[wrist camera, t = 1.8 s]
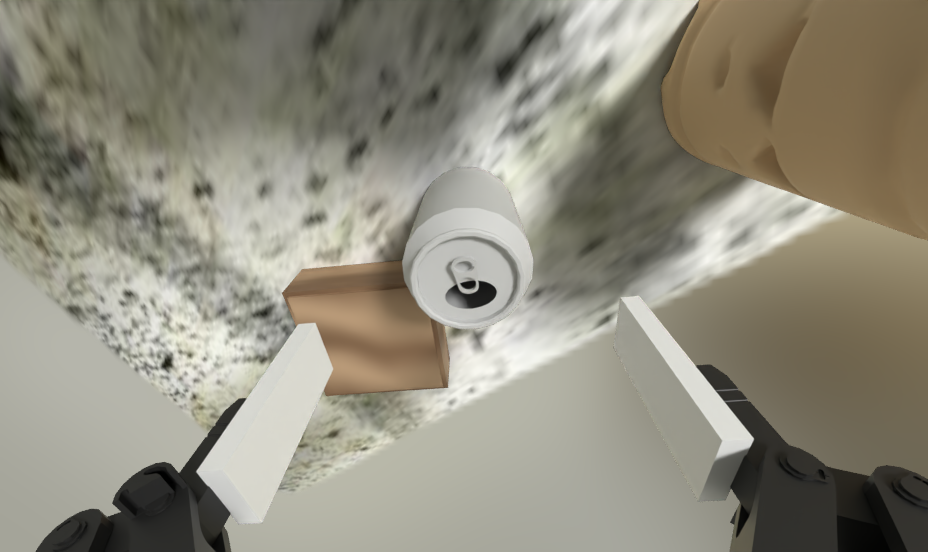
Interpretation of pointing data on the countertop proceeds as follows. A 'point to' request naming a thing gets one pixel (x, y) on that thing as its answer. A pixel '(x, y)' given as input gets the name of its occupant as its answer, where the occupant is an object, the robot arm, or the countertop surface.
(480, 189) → the can
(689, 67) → the container
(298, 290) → the tan cardboard box
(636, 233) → the countertop surface
